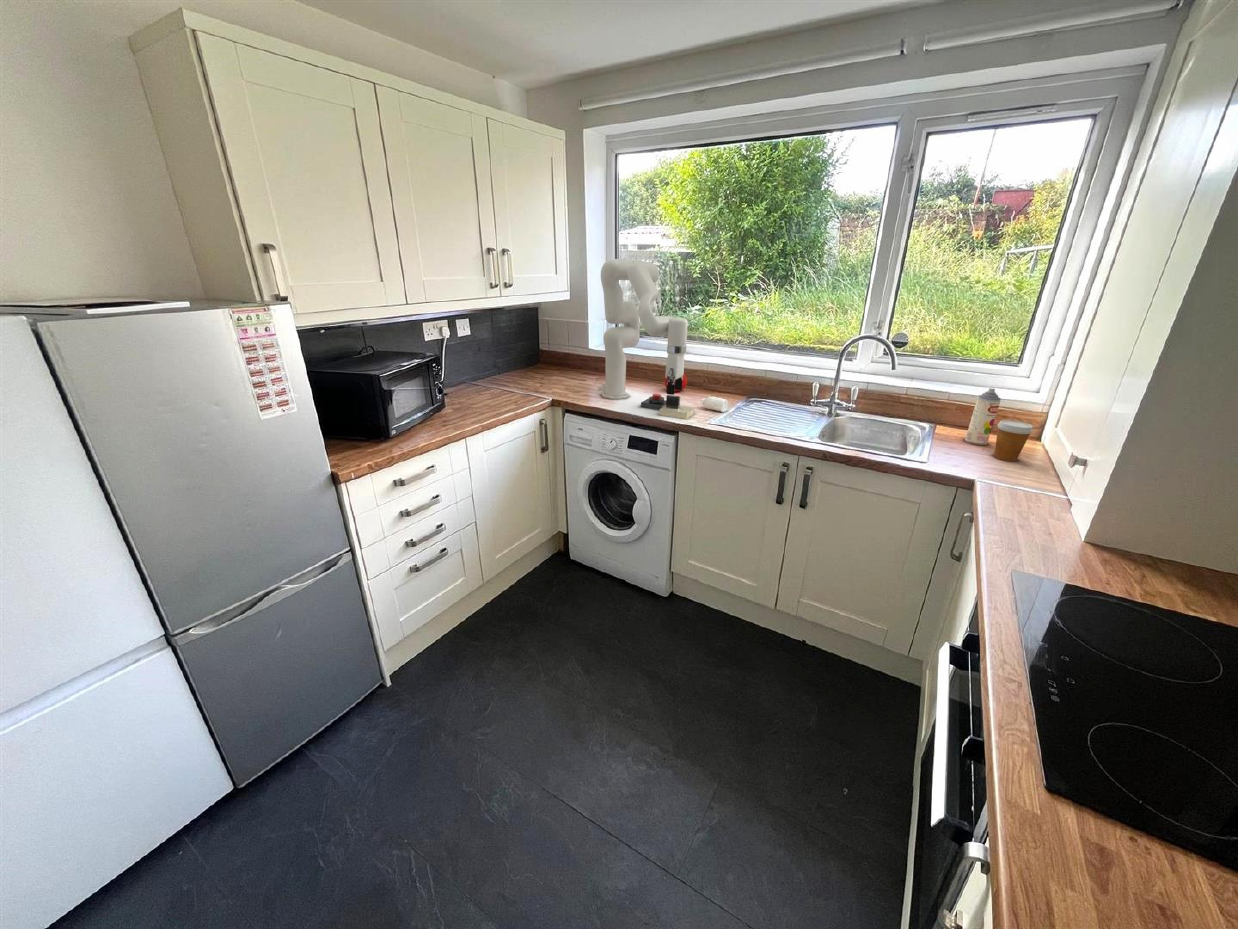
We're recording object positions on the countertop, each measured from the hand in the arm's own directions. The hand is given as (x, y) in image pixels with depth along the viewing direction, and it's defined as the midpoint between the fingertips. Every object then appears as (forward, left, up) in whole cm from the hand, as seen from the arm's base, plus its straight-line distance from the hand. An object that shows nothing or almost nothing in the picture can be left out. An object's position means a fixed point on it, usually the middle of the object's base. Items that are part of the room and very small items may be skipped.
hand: (674, 391), depth 206 cm
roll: (+13, +15, -10) cm, 22 cm away
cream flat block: (+2, 0, -9) cm, 9 cm away
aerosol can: (+111, +19, -10) cm, 113 cm away
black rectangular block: (0, 0, -7) cm, 7 cm away
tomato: (-13, +40, -10) cm, 43 cm away
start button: (-10, +7, -6) cm, 14 cm away
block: (-10, +7, -9) cm, 16 cm away
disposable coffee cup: (+117, +4, -10) cm, 117 cm away
